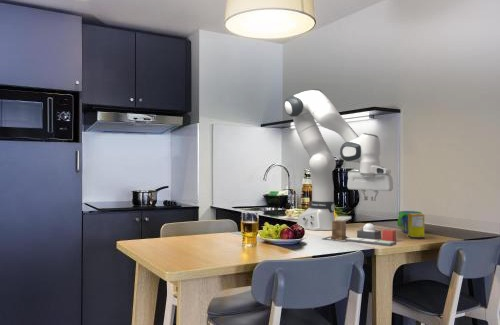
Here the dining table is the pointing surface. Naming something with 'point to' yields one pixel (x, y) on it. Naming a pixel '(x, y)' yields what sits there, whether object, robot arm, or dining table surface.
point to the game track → (370, 241)
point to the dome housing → (369, 234)
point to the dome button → (369, 227)
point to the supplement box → (416, 225)
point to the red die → (389, 235)
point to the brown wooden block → (338, 230)
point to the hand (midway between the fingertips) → (369, 200)
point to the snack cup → (404, 220)
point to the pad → (333, 240)
